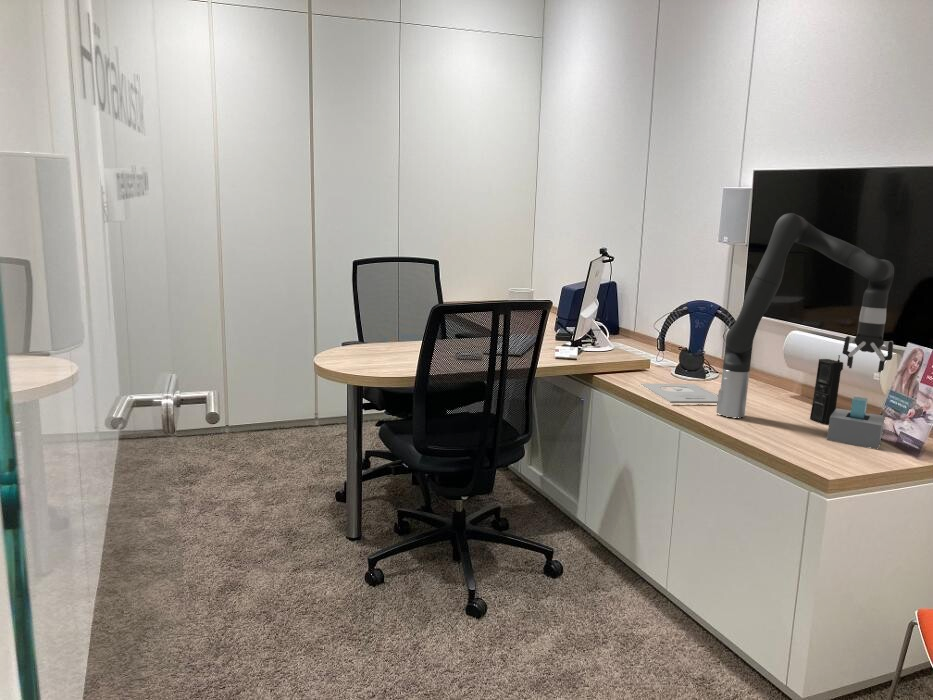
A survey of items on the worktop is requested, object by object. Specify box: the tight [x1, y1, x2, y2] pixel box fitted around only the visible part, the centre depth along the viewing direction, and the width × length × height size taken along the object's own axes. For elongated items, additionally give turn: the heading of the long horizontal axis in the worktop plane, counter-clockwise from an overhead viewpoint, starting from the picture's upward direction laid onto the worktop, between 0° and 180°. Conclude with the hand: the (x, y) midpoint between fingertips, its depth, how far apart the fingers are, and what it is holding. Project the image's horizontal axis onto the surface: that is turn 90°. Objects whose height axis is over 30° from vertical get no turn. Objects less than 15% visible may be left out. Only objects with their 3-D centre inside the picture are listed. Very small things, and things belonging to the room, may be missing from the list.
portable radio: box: [809, 354, 844, 425], centre depth 265 cm, size 8×6×25 cm
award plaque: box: [640, 383, 718, 403], centre depth 298 cm, size 25×30×2 cm
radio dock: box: [826, 407, 886, 449], centre depth 245 cm, size 15×15×8 cm
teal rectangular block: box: [850, 396, 868, 420], centre depth 244 cm, size 4×5×13 cm
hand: (864, 369), depth 241 cm, fingers open, 8 cm apart
